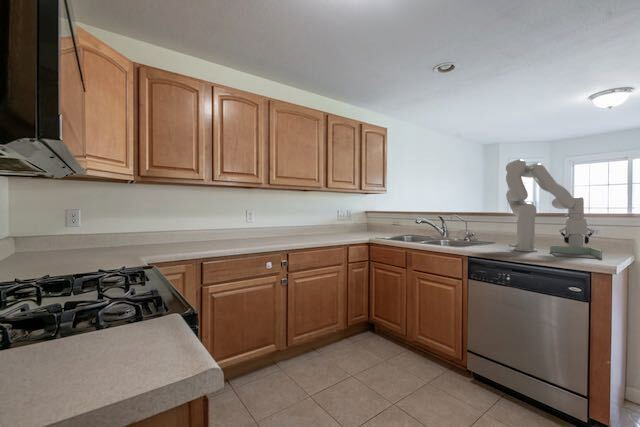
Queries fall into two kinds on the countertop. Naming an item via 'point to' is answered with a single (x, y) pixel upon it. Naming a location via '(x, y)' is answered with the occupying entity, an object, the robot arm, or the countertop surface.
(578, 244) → the can
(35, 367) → the countertop surface
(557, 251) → the arena
